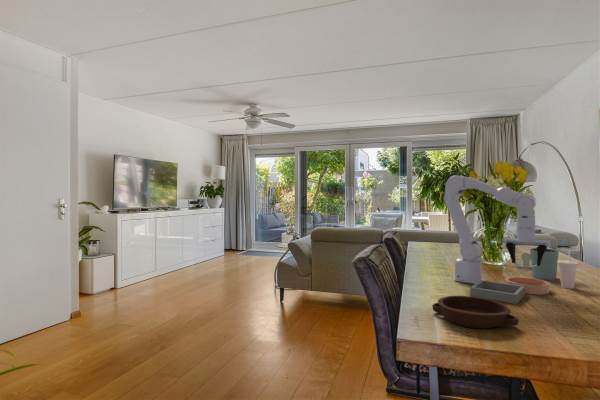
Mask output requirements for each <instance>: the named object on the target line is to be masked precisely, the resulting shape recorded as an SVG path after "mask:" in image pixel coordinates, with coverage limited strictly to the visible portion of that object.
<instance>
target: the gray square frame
mask: <svg viewBox="0 0 600 400" xmlns="http://www.w3.org/2000/svg"><path fill="white" fill-rule="evenodd" d="M469 296H470V297H479V298H485V299H490V300H493V301H496V302H502V303H508V304H509V303H510V304H513V305H517V304H518V303H520V301H521V300H522V299H523V298H524V297H525V296H526V293H525V286H519V285H512V284H505V282H498V281H492V280H485V279H483V280H481V281H479V282H478V283H476V284H472V286H470V287H469Z"/></svg>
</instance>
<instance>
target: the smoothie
mask: <svg viewBox="0 0 600 400" xmlns="http://www.w3.org/2000/svg"><path fill="white" fill-rule="evenodd" d="M567 251H568V253H567V254H568V255H567V256H568V257H567V258H568V259H567V260H558V261H557V268H558V273H559V277H560V279H559V280H560V284H561V288H563V287H564V289H568V290H570V289H571V290H572V289H574V288H575V283H576V276H577V271H578V270H577V269H578V266H579V263H578V262H576V261H572V260H571V250H567Z"/></svg>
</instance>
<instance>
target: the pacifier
mask: <svg viewBox="0 0 600 400" xmlns="http://www.w3.org/2000/svg"><path fill="white" fill-rule="evenodd" d="M521 260H522V263H520V262H517V261H516V262H515V263H514V264H515V267H514V269H516V270H520V271H524V272H525V271H526V272H532V271H535V269H532V268H534V267H536V266H537V265H534V266H531V255H530V252H529V253H528V252H524V253H522V255H521Z"/></svg>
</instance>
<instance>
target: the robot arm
mask: <svg viewBox="0 0 600 400" xmlns="http://www.w3.org/2000/svg"><path fill="white" fill-rule="evenodd" d="M468 189H469V190H470V189H475V190H478V191H480V192H483V193H486V194H489V195H492V196H494V197H495V200H496V201H498V202H500V203H502V204H505V205H507V206H510V207H512V208H513V207H515V208H516V209H517V210H516V212H517V213H516V214H517V215H516V238H514V237H513V238H512V237H511V238H510V237H507V238H506V237H504V238H503V239H502V242H503V243H502V244H505V248H506V249H507V251H508V253H509V256H510V258H511V264H515V262H517V261H516V260H517V258H516V246H517V245H522V246H523V245H525V246H536V248H537V256H538V258H537V266H540V264H541V260H542V257H543V254H544V252H545V251H546V249H547V248H549V247H551V240H543V239H536V216H535V214H536V213H535V212H536V211H535V208H536V205H537V202H536V200H535V198H533V197H532V196H531V195H528V194H527V195H525V193H524V192H519V191H516V190H513V189H512V188H511V187H509V186H506V187H505V186H501V187H499V188H497V186H493V185H491V184H489V183H486V182H484V181H482V180H479V179H476V178H473V177H468V176H467V177H466V176H464V175H459V174H453V175H451V176H450V177H449V178H448V179H447V181H446V182H445V191H444V196H443V197H444V198H443V201H444V202H445V205H446V209H448V213H449V215H450V218H451V220H452V223H453V226H454V228H455V230H456V233H457V236H458V238H459V241H458V244H459V249H460V250H459V254H460V256H461V258H456V260H455V264H454V282H461V283H468V284H472V285H475V284H476V283H478V282H479V281H481V280H484V279H482V257H481V256H482V254H483V248H482V246H481V244H480V243H478V241H477V238H476V237H475V236H474V235H473V233H472V231H471V228H470V225H469V223H468V220H467V218H466V215H465V213H464V211H463V208H462V206H461V204H460V201H459V199H460V197H461V195H462V194H464V193H463V192H465V191H466V190H468Z"/></svg>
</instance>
